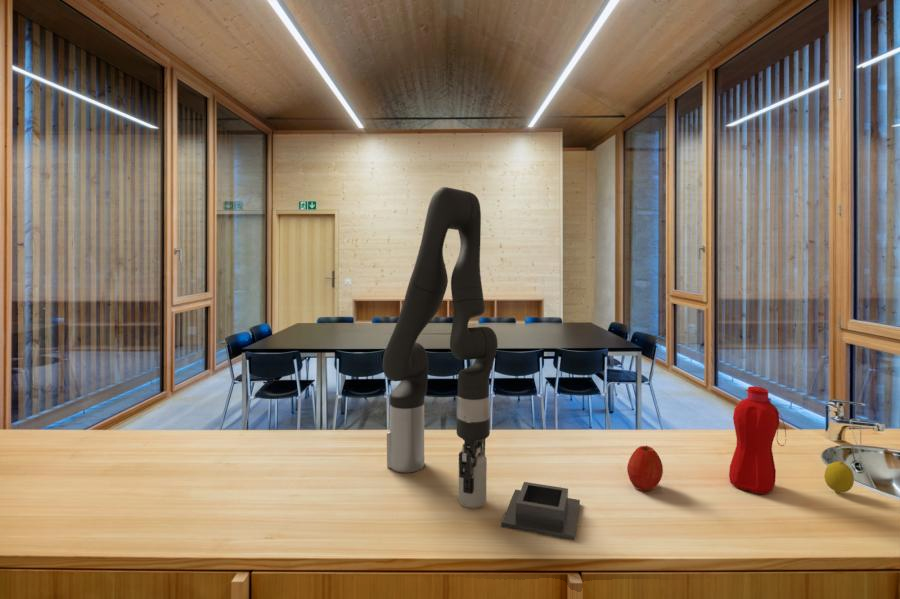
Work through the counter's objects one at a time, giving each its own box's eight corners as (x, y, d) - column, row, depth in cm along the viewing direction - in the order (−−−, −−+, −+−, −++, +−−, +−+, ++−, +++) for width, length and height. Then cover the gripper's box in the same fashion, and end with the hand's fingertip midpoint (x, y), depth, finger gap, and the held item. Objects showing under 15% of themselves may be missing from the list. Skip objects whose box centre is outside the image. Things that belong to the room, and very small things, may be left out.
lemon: (846, 489, 120) (849, 458, 119) (856, 500, 114) (859, 468, 114) (819, 486, 121) (822, 455, 121) (828, 496, 116) (831, 464, 115)
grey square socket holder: (501, 526, 103) (501, 506, 103) (515, 493, 117) (515, 475, 117) (574, 540, 98) (575, 519, 98) (579, 504, 112) (580, 485, 112)
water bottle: (778, 502, 114) (786, 397, 111) (725, 486, 121) (732, 387, 119) (785, 487, 121) (792, 388, 118) (734, 474, 128) (741, 380, 125)
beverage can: (484, 511, 109) (484, 459, 108) (455, 508, 110) (456, 457, 109) (487, 497, 115) (488, 448, 114) (460, 494, 117) (461, 446, 115)
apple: (666, 497, 116) (668, 453, 115) (629, 493, 117) (631, 450, 116) (657, 481, 124) (659, 440, 123) (623, 478, 125) (625, 437, 124)
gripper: (466, 403, 119) (466, 470, 120) (447, 423, 105) (447, 498, 107) (496, 407, 116) (495, 474, 118) (481, 427, 103) (480, 503, 104)
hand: (472, 485), depth 112 cm, fingers closed on beverage can, 6 cm apart
